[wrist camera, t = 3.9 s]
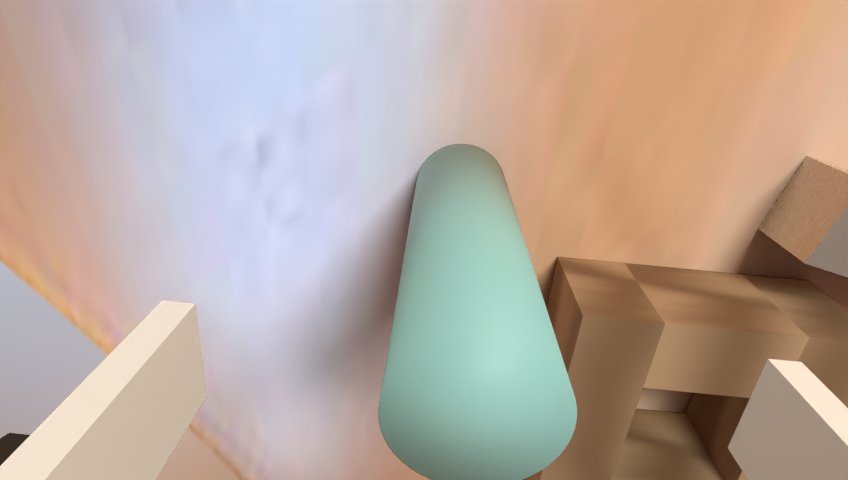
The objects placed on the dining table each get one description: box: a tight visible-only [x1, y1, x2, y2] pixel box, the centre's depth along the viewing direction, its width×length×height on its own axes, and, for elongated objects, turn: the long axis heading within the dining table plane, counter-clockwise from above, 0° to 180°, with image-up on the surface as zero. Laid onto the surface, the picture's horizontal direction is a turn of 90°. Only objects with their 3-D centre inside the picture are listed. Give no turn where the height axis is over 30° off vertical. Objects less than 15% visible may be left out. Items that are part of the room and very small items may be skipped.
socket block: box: [523, 257, 848, 480], centre depth 25 cm, size 12×12×5 cm
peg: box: [378, 144, 577, 480], centre depth 17 cm, size 4×4×14 cm
